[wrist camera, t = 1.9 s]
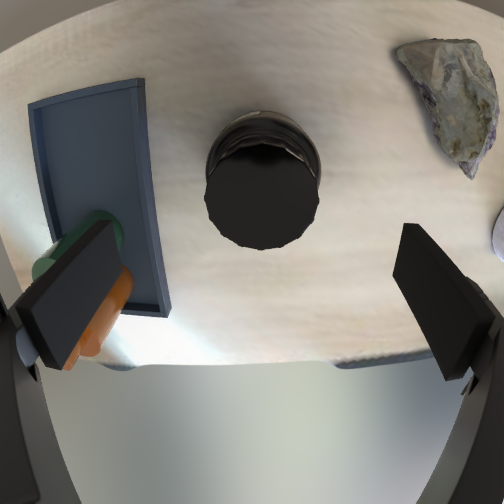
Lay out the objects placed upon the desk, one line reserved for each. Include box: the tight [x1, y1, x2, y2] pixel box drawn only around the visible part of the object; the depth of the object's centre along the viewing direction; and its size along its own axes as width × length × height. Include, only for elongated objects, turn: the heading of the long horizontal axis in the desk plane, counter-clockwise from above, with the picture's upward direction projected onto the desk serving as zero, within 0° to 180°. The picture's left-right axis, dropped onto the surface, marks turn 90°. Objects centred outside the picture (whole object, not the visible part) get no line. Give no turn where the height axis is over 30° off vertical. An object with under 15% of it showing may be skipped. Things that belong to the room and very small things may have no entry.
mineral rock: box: [396, 38, 499, 180], centre depth 20 cm, size 13×11×10 cm
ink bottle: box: [204, 111, 321, 250], centre depth 24 cm, size 10×9×12 cm
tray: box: [28, 78, 172, 318], centre depth 31 cm, size 27×14×2 cm, turn 0°
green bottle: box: [32, 210, 124, 282], centre depth 27 cm, size 6×6×14 cm
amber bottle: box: [62, 263, 134, 370], centre depth 30 cm, size 6×6×14 cm
